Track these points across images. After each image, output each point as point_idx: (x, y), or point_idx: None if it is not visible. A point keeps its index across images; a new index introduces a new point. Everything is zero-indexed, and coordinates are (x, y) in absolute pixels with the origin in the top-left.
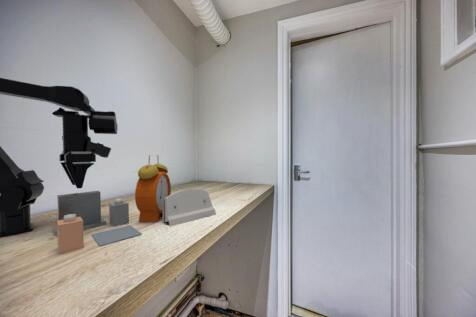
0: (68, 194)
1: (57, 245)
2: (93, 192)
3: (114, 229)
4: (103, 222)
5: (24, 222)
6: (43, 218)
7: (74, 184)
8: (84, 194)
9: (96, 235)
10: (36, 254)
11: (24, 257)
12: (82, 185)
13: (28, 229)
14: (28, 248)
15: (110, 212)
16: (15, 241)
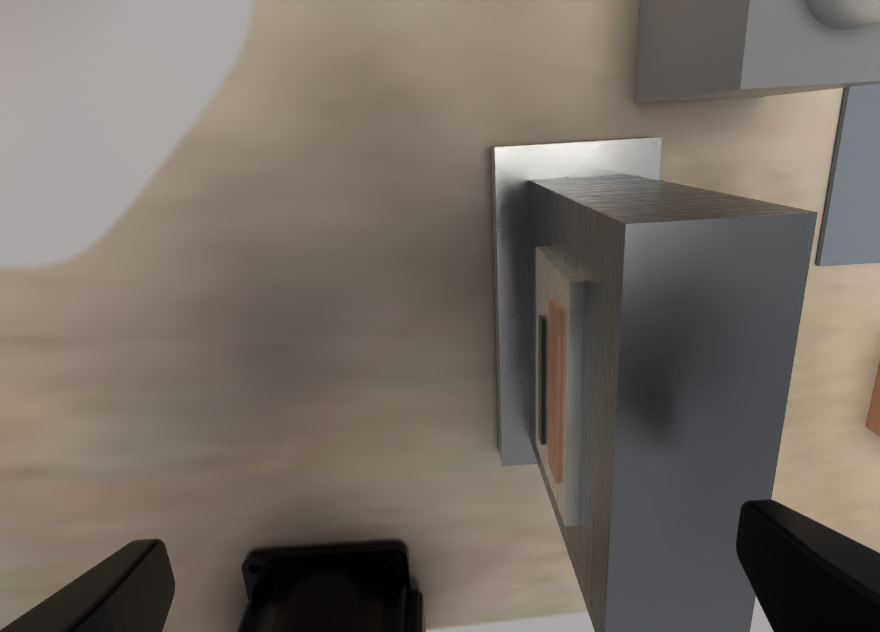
0: (645, 570)
1: (876, 433)
2: (768, 308)
3: (865, 107)
4: (657, 158)
5: (382, 619)
6: (75, 508)
7: (168, 570)
8: (776, 416)
9: (878, 240)
10: (866, 496)
11: (857, 531)
12: (813, 522)
13: (407, 565)
14: None
15: (734, 93)
16: (558, 583)
